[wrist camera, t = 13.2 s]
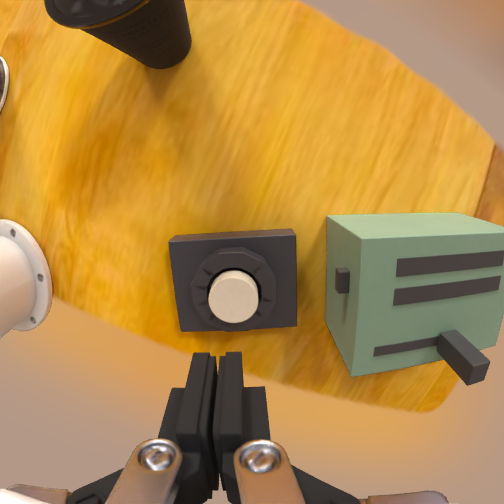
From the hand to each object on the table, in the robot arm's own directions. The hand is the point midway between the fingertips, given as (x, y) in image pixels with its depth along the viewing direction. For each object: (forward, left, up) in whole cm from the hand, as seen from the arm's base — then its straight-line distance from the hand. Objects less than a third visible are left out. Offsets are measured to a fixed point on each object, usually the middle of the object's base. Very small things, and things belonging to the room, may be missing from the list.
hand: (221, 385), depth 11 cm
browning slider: (+15, -5, -8) cm, 18 cm away
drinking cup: (-5, +19, -18) cm, 27 cm away
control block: (0, -2, -18) cm, 18 cm away
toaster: (+15, -2, -18) cm, 23 cm away
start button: (0, -2, -14) cm, 14 cm away
